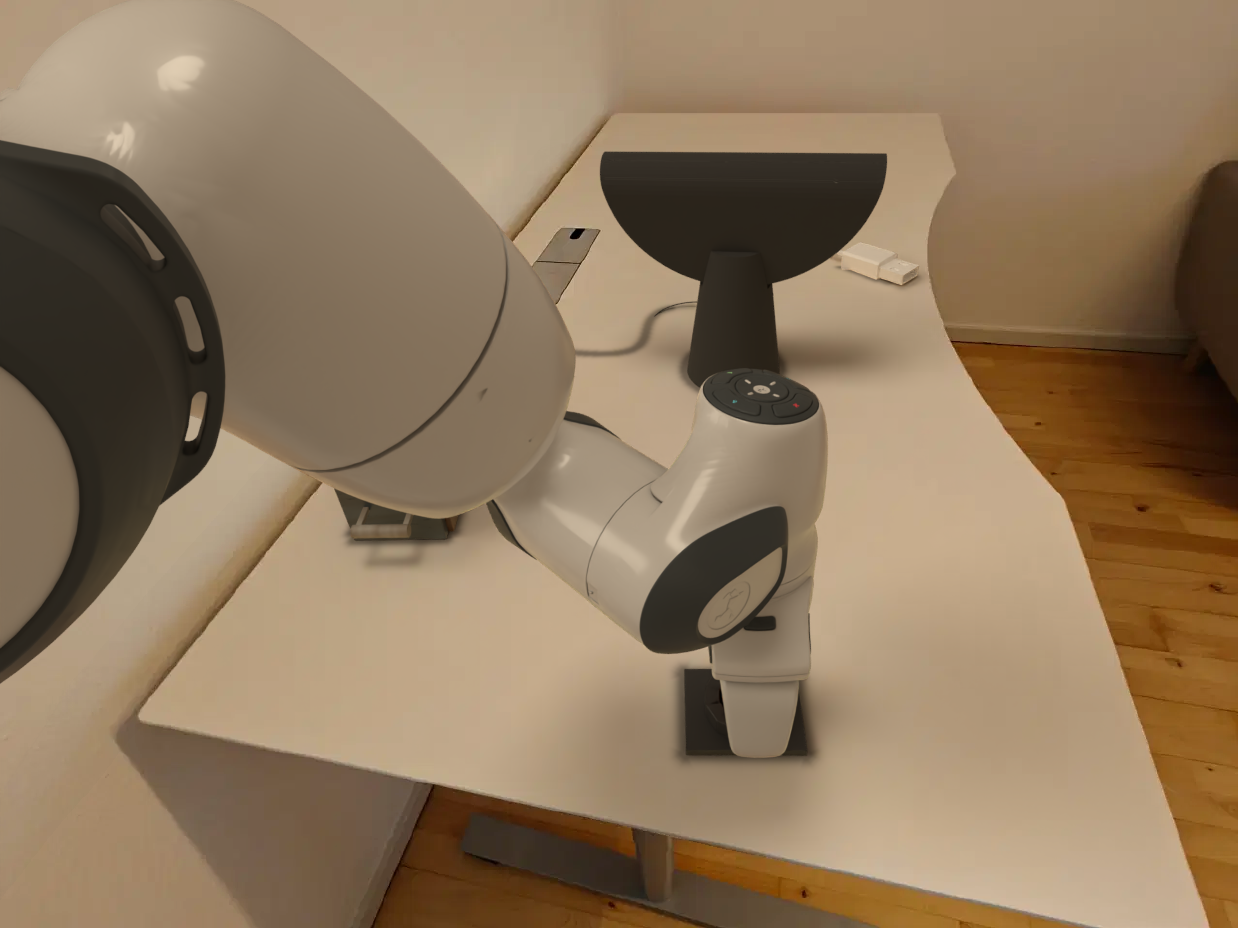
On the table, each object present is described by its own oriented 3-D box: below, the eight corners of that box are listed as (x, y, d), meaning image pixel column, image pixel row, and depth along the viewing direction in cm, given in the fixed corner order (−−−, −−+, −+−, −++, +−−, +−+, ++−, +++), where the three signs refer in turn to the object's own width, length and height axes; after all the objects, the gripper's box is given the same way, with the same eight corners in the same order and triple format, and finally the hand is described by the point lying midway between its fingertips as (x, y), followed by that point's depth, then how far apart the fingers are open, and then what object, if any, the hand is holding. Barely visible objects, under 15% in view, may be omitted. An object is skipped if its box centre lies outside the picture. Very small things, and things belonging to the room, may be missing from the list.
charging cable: (760, 228, 146) (761, 210, 144) (918, 279, 126) (921, 259, 124) (741, 237, 144) (741, 219, 142) (899, 291, 124) (901, 271, 122)
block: (805, 761, 68) (809, 738, 65) (686, 760, 68) (685, 738, 66) (794, 679, 74) (797, 656, 71) (684, 679, 74) (683, 656, 72)
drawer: (438, 567, 86) (422, 514, 81) (343, 568, 87) (321, 516, 82) (469, 459, 99) (456, 408, 94) (386, 461, 100) (369, 411, 95)
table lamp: (572, 452, 100) (541, 222, 81) (536, 337, 121) (505, 133, 102) (870, 391, 106) (909, 162, 86) (787, 291, 127) (803, 89, 107)
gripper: (702, 473, 66) (702, 583, 75) (713, 688, 51) (712, 795, 60) (780, 471, 66) (771, 582, 75) (815, 688, 50) (798, 795, 60)
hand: (745, 679), depth 67 cm, fingers closed
